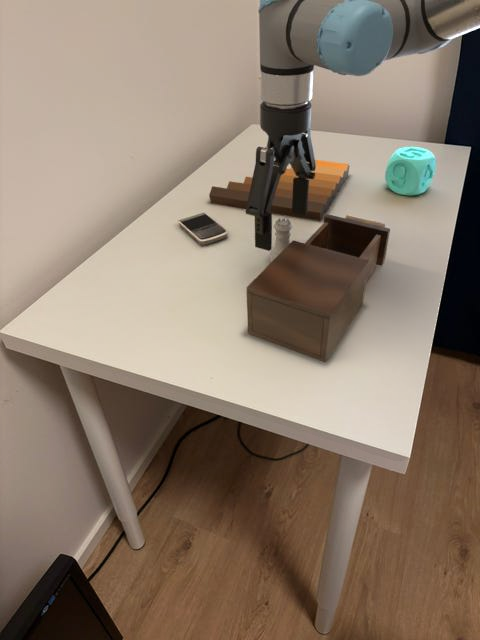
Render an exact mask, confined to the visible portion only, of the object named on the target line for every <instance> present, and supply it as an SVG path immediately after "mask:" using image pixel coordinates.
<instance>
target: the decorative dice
mask: <svg viewBox="0 0 480 640" xmlns="http://www.w3.org/2000/svg"><path fill="white" fill-rule="evenodd" d="M436 168H437V159H436V157H435V155H434V154H433V152H432V151H430V150H429V149H427V148H424V147H418V146H404V147H400V148H398V149H396V150H395V151H394V152H393V153H392V155H391V156H390V158H389V160H388V162H387V164H386V168H385V173H384V181H385V183H386V186H387V187H388V188H389V190H391V191H392V192H393V193H395V194H398V195H402V196H419V195H421V194H423V193H424V192H426V191H427V189H428V188H429V186H430V185H431V183H432V181H433V179H434V176H435V172H436Z"/></svg>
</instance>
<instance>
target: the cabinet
mask: <svg viewBox="0 0 480 640" xmlns="http://www.w3.org/2000/svg"><path fill="white" fill-rule="evenodd" d="M368 264H369V260H366V259H362V258H358V257H354V256H351V255H347V254H343V253H339V252H336V251H332V250H328V249H324V248H320V247H317V246H313V245H309V244H305V242H301V241H298V240H293V239H292V241H290V244H289V245H288V246H287V247H286V248H285V249H284V250H283V251H282V252H281V253H280V254H279V255H278V256H277V257H276V258H275V259H274V260H273V261H272V262H271V261H270V263H269V264H267V266H266V267H265V268H263V270H262V271H261V272H260V273H258V275H257V276H256V277H255V278H254V279H253V280H252V281H251V282H250V283H249V284H248V286H246V312H247V313H246V314H247V315H246V316H247V317H246V318H247V334H249V335H251V336H254V337H257V338H260V339H262V340H265V341H268V342H270V343H273V344H276V345H278V346H280V347H284V348H287V349H289V350H292V351H295V352H297V353H300V354H303V355H305V356H307V357H311V358H314V359H316V360H319V361H321V362H324V363H326V362H327V360H328V358H329V357H330V355H331V354H332V353H333V351H334V349H335V348H336V346H337V345H338V343H339V342H340V340H341V338H342V337H343V335H344V334H345V333H346V331H347V329H348V328H349V326H350V325H351V323H352V321H353V320H354V319H355V317H356V316H357V314H358V313H359V311H360V309H361V308H362V307H363V302H364V296H365V289H366V283H367V281H366V277H367V271H368Z"/></svg>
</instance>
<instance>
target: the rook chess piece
mask: <svg viewBox="0 0 480 640" xmlns="http://www.w3.org/2000/svg"><path fill="white" fill-rule="evenodd" d="M281 219H282V220H281ZM273 229H274V230H275V232H274V236H275V241H274V242H275V243H274V246H272V249H271V250H270V258H269V260H270V263H271V262H272V261H273V260H274V259H275V258H276V257H277V256H278V255H279V254H280V253H281V252H282V251H283V250H284V249H285V248H286V247H287V246H288V245H289V244H290V243H291V240H290V239H291V238H290V237H291V234H292V233H291V232H290V231H291V230H292V229H293V225H292V223H291V220H290V219H289V218H286V217H282V218H277V220H276V219H275V223H274V224H273Z"/></svg>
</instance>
